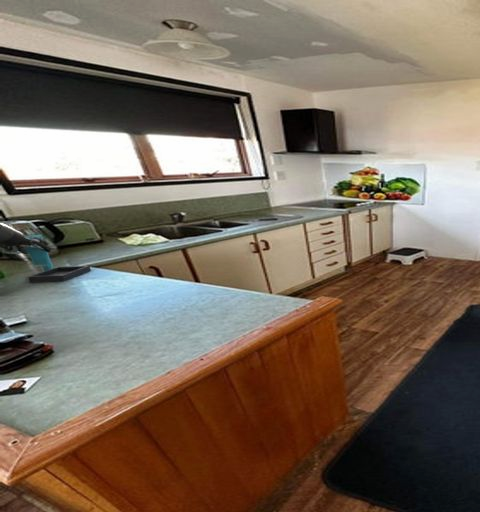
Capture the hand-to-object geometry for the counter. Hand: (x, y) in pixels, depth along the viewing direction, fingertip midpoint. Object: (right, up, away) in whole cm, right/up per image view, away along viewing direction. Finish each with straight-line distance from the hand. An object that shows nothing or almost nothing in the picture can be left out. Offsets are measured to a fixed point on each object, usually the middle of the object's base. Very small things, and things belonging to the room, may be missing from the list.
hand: (38, 251), depth 129 cm
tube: (0, -11, +3) cm, 11 cm away
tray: (+12, -12, 0) cm, 16 cm away
